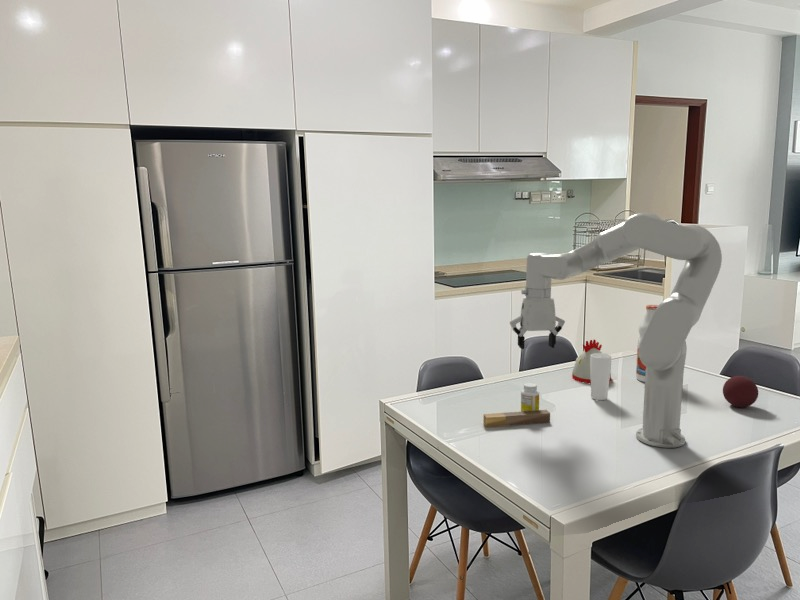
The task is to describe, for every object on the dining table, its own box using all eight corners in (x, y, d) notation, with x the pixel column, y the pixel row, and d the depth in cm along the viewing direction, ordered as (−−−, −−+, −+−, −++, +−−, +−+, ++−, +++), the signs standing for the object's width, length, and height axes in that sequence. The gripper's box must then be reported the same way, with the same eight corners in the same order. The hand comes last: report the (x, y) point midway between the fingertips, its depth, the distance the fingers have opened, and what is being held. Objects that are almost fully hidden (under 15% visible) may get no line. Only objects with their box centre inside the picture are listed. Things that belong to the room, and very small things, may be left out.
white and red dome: (564, 375, 229) (565, 337, 226) (594, 371, 234) (595, 334, 231) (588, 385, 216) (589, 345, 214) (618, 381, 221) (620, 341, 218)
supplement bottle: (535, 412, 190) (536, 381, 188) (541, 418, 184) (542, 387, 183) (518, 413, 189) (519, 382, 187) (523, 419, 184) (524, 387, 182)
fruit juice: (664, 378, 224) (668, 304, 219) (662, 384, 216) (666, 308, 211) (637, 375, 228) (641, 302, 224) (634, 381, 220) (638, 307, 215)
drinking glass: (607, 395, 205) (608, 353, 203) (611, 401, 199) (613, 358, 196) (586, 394, 206) (588, 352, 203) (591, 401, 199) (592, 357, 197)
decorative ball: (749, 414, 185) (752, 383, 184) (716, 406, 193) (718, 376, 191) (762, 406, 192) (764, 376, 190) (729, 399, 199) (731, 370, 198)
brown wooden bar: (550, 422, 181) (550, 413, 180) (486, 427, 178) (486, 417, 178) (546, 419, 184) (546, 409, 183) (483, 423, 181) (483, 414, 181)
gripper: (514, 296, 178) (513, 351, 181) (570, 294, 180) (567, 349, 183) (507, 292, 185) (506, 345, 188) (560, 290, 187) (558, 343, 190)
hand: (536, 347), depth 186 cm, fingers open, 9 cm apart
